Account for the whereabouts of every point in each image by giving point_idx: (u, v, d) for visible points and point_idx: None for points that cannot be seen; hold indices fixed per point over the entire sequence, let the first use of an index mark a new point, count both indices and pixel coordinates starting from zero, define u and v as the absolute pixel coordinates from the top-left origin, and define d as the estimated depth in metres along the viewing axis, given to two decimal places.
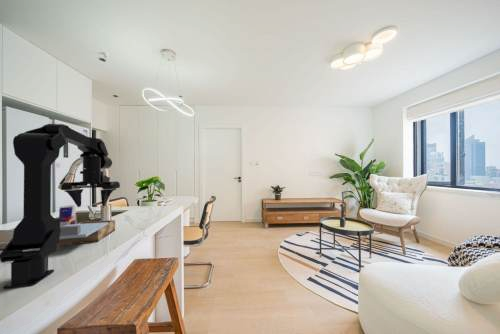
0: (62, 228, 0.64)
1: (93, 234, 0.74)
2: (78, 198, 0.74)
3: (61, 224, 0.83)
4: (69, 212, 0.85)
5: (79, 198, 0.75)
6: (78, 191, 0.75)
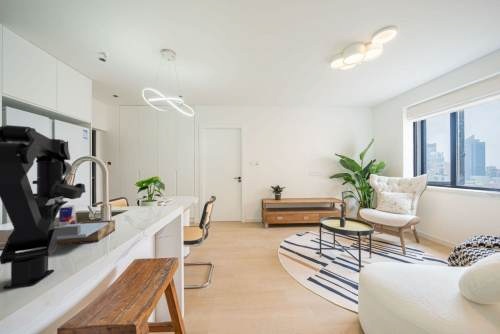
0: (62, 228, 0.64)
1: (93, 234, 0.74)
2: None
3: (61, 224, 0.83)
4: (69, 212, 0.85)
5: None
6: None
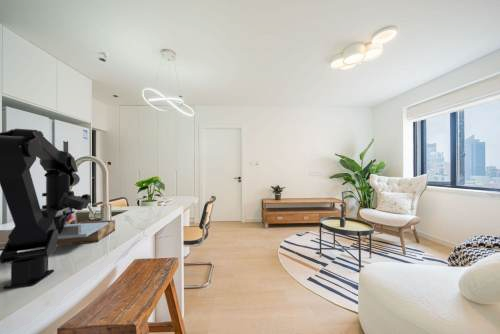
0: (63, 228, 0.65)
1: (93, 234, 0.74)
2: None
3: None
4: None
5: None
6: None
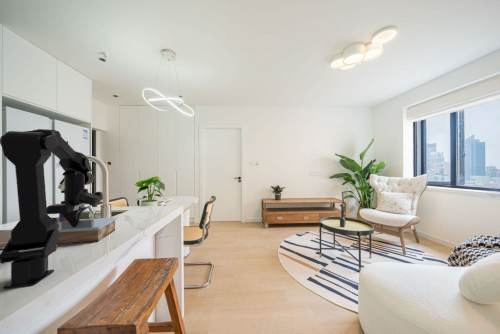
0: None
1: (93, 234, 0.74)
2: None
3: (61, 224, 0.83)
4: None
5: None
6: None
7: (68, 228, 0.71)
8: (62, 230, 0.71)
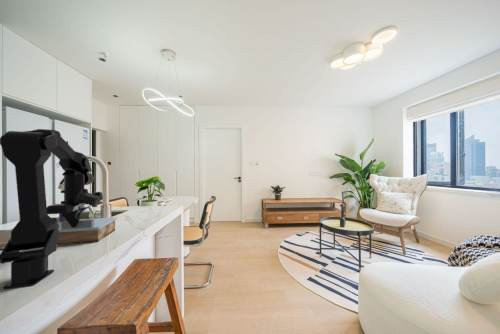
0: (78, 221, 0.72)
1: (93, 234, 0.74)
2: None
3: (61, 224, 0.83)
4: None
5: None
6: None
7: (68, 228, 0.71)
8: (62, 230, 0.71)
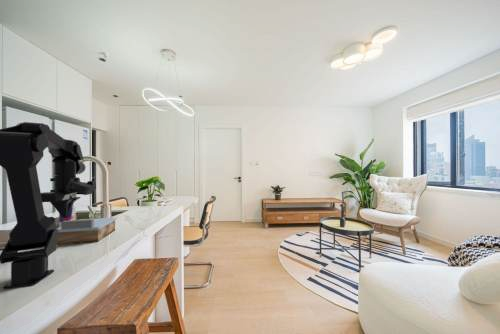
0: (78, 221, 0.72)
1: (93, 234, 0.74)
2: None
3: None
4: (70, 212, 0.85)
5: None
6: None
7: (68, 228, 0.71)
8: (62, 230, 0.71)
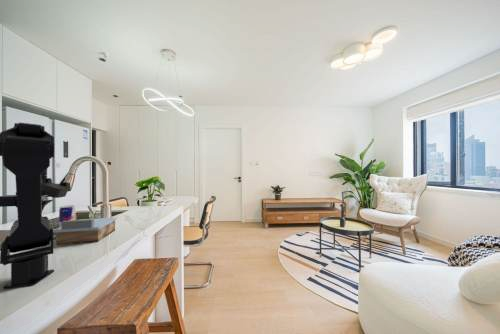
0: (78, 221, 0.72)
1: (93, 234, 0.74)
2: None
3: None
4: (69, 212, 0.85)
5: None
6: None
7: (68, 228, 0.71)
8: (62, 230, 0.71)
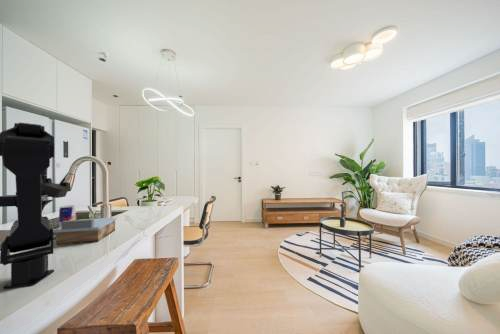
0: (78, 221, 0.72)
1: (93, 234, 0.74)
2: None
3: None
4: (69, 212, 0.85)
5: None
6: None
7: (68, 228, 0.71)
8: (62, 230, 0.71)
